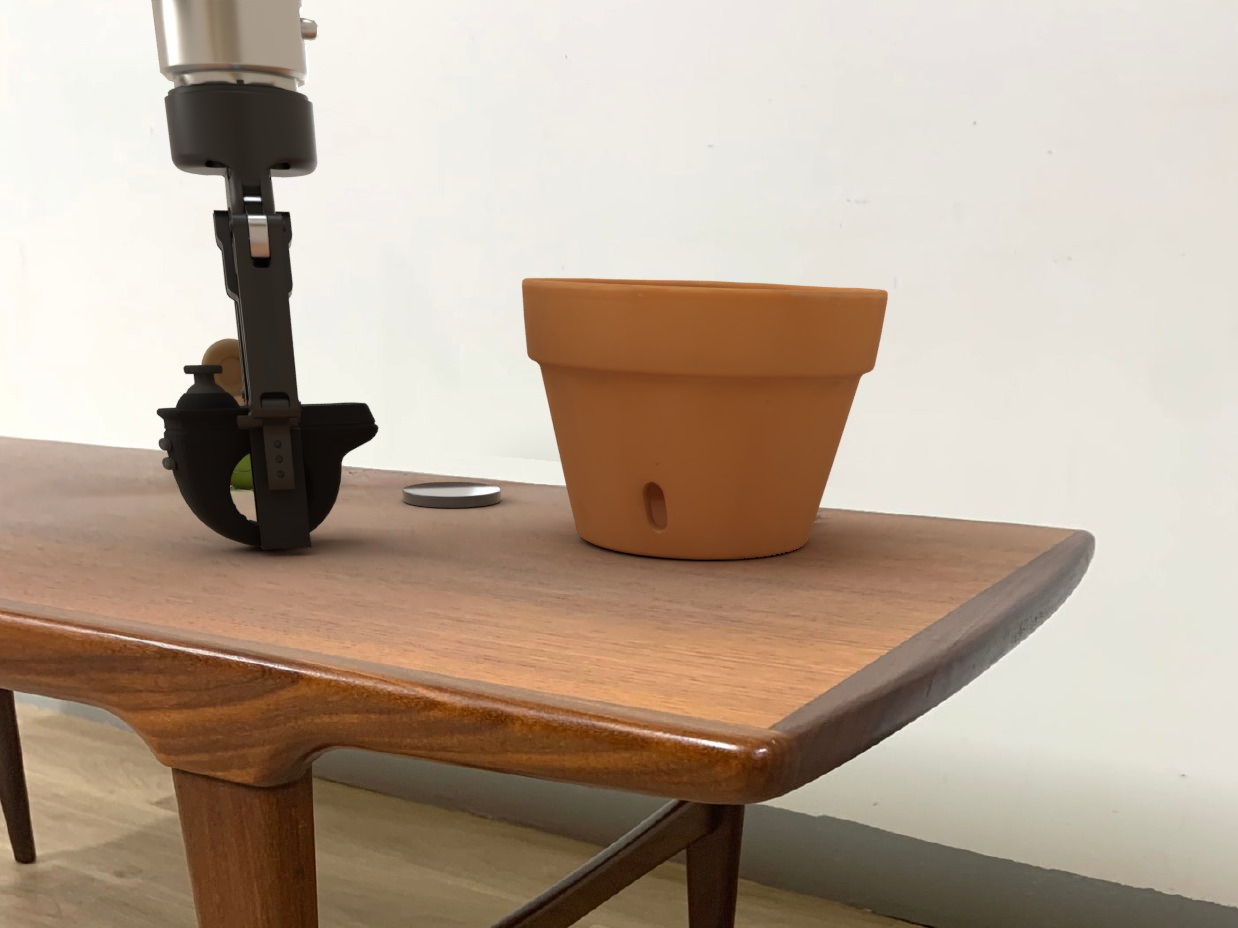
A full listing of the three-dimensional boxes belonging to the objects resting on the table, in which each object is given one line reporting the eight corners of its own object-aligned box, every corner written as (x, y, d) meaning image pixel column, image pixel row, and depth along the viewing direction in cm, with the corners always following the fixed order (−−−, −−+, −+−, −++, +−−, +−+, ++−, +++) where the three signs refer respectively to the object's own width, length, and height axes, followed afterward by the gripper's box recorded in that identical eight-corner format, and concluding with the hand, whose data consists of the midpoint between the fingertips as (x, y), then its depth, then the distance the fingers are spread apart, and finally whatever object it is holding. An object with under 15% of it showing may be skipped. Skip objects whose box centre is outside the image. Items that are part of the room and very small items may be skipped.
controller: (166, 549, 76) (141, 365, 72) (368, 532, 82) (353, 362, 79) (186, 557, 73) (160, 365, 69) (394, 539, 79) (381, 362, 75)
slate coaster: (410, 509, 90) (410, 497, 90) (396, 494, 96) (395, 483, 96) (510, 506, 92) (510, 494, 92) (489, 491, 98) (489, 480, 98)
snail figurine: (310, 488, 98) (296, 315, 93) (228, 496, 94) (210, 315, 89) (277, 480, 101) (262, 312, 97) (197, 486, 98) (178, 312, 93)
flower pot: (930, 541, 83) (957, 285, 77) (721, 592, 68) (735, 282, 62) (676, 500, 95) (682, 279, 90) (455, 536, 81) (445, 275, 75)
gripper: (326, 64, 62) (365, 562, 71) (299, 114, 78) (334, 515, 86) (158, 56, 60) (220, 570, 68) (166, 108, 75) (215, 520, 84)
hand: (283, 538), depth 77 cm, fingers closed on controller, 5 cm apart
